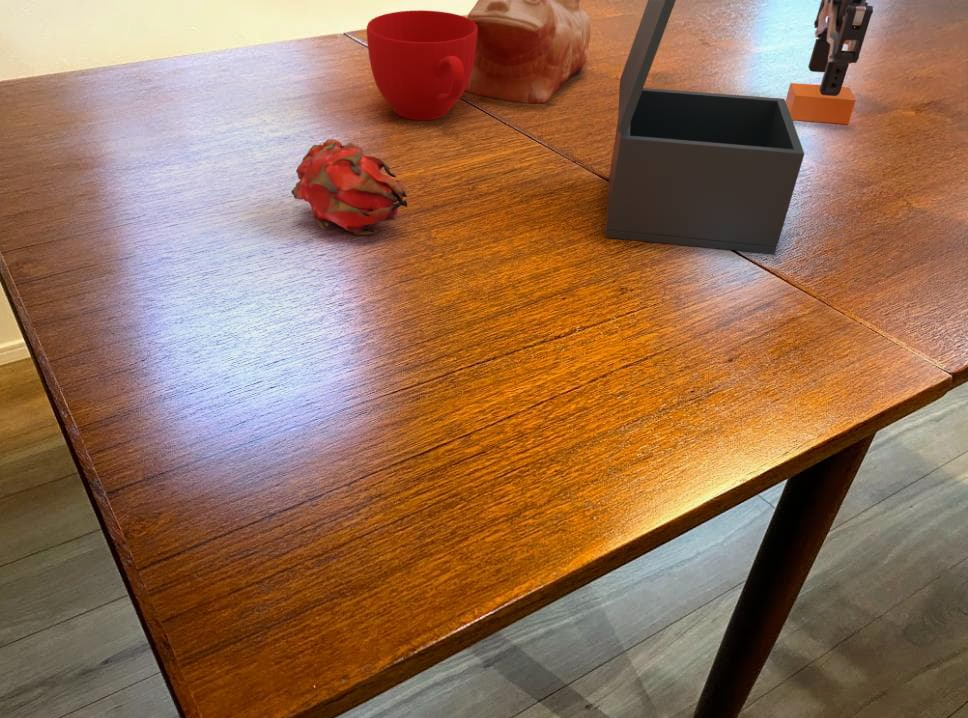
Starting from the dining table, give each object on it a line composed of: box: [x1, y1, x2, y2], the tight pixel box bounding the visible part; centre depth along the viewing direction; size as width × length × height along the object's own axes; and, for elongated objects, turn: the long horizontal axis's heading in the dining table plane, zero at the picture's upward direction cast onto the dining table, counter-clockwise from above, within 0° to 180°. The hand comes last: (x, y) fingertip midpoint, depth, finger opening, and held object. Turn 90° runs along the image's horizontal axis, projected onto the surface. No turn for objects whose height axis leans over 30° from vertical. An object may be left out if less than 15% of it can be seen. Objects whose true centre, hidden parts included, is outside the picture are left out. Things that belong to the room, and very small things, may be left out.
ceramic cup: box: [366, 9, 478, 121], centre depth 104 cm, size 13×17×10 cm
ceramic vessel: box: [464, 0, 592, 105], centre depth 114 cm, size 14×26×15 cm, turn 155°
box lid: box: [617, 0, 677, 134], centre depth 77 cm, size 16×14×6 cm
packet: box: [785, 82, 857, 125], centre depth 109 cm, size 7×5×3 cm, turn 79°
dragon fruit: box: [290, 138, 409, 236], centre depth 83 cm, size 8×8×12 cm
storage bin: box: [605, 87, 805, 255], centre depth 85 cm, size 16×14×10 cm
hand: (822, 82), depth 107 cm, fingers open, 8 cm apart
